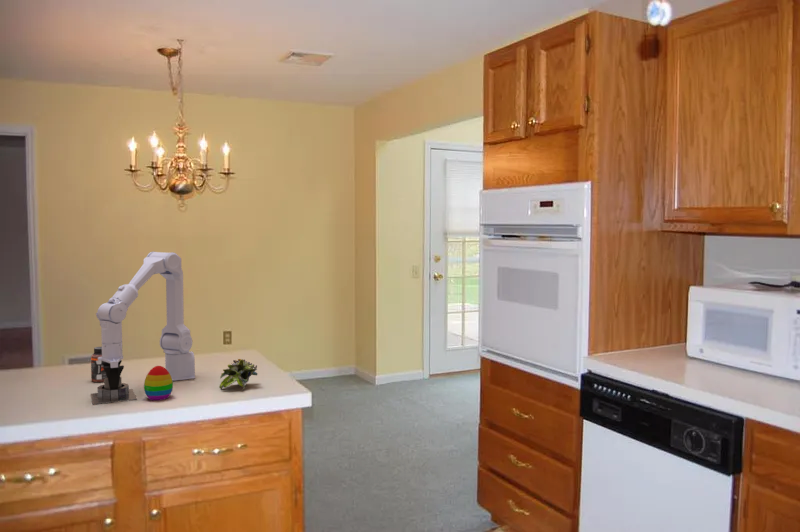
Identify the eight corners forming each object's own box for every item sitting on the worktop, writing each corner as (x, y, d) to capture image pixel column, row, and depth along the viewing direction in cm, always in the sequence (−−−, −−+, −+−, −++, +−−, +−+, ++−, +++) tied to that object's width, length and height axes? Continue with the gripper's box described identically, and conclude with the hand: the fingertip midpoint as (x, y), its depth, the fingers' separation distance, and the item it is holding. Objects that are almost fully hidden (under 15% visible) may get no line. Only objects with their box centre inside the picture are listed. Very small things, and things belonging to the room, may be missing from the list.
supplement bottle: (103, 383, 208) (102, 349, 207) (87, 382, 209) (86, 348, 208) (114, 378, 214) (113, 346, 213) (99, 377, 215) (98, 345, 214)
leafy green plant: (239, 400, 208) (257, 368, 212) (249, 403, 199) (268, 369, 203) (210, 385, 204) (229, 352, 208) (218, 386, 195) (238, 352, 199)
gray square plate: (132, 389, 200) (132, 379, 200) (136, 399, 190) (136, 388, 190) (90, 394, 195) (90, 384, 194) (92, 404, 184) (92, 393, 184)
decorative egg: (148, 403, 186) (147, 370, 185) (141, 397, 193) (140, 365, 192) (176, 399, 191) (175, 366, 190) (168, 392, 197) (167, 361, 197)
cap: (120, 393, 195) (120, 375, 195) (122, 396, 191) (122, 378, 191) (103, 395, 193) (103, 377, 193) (105, 398, 189) (105, 380, 189)
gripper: (96, 339, 195) (97, 382, 196) (98, 347, 183) (100, 393, 184) (120, 337, 199) (121, 379, 200) (125, 345, 186) (126, 390, 187)
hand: (113, 386), depth 192 cm, fingers open, 6 cm apart
